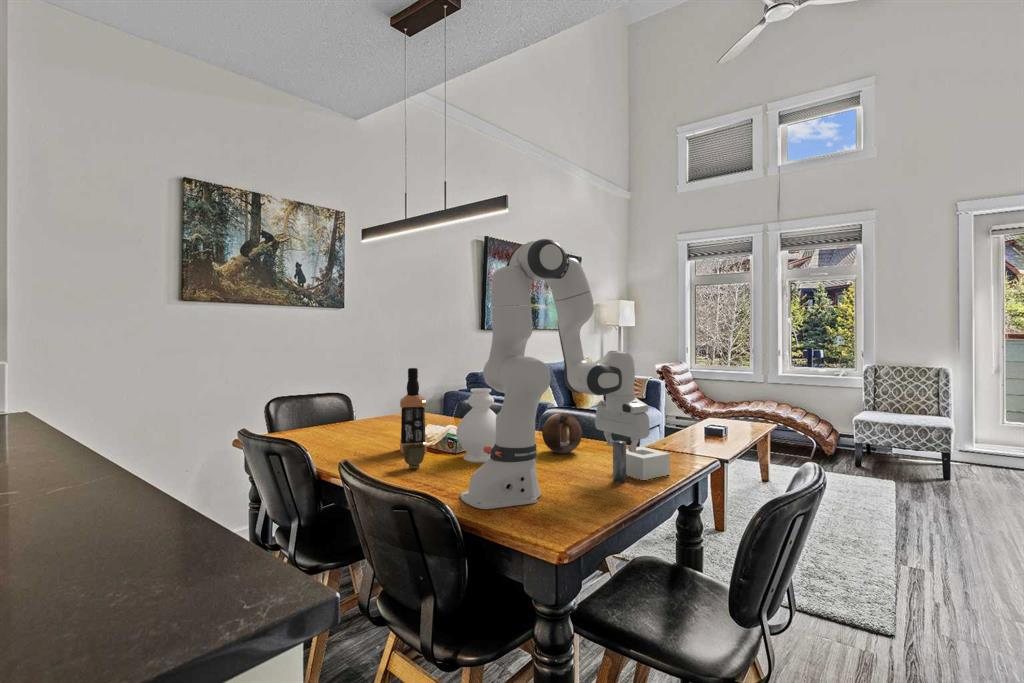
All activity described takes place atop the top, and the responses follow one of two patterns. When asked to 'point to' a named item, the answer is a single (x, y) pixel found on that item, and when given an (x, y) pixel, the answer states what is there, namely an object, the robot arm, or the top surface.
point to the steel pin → (619, 461)
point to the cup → (414, 455)
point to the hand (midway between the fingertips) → (621, 448)
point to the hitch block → (647, 463)
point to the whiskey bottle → (412, 413)
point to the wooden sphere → (562, 433)
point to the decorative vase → (478, 426)
